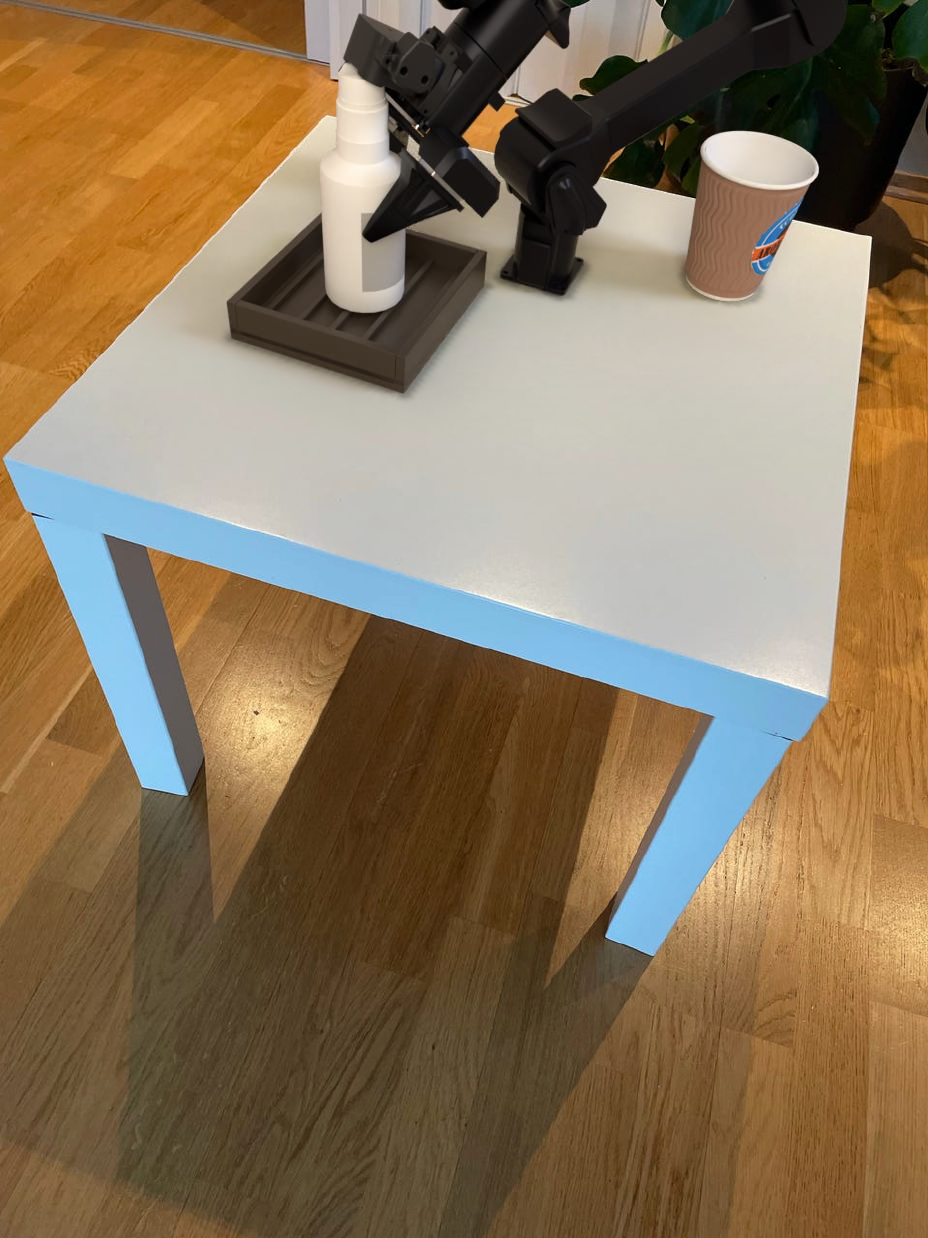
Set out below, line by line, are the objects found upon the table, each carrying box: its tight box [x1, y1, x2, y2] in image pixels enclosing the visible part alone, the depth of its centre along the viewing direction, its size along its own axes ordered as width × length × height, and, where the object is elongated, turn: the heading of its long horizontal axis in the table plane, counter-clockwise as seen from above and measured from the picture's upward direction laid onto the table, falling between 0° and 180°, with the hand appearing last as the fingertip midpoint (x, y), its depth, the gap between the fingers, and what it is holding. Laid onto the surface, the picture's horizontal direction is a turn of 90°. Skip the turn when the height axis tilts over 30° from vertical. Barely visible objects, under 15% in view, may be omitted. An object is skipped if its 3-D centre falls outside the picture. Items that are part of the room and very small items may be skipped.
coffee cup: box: [685, 130, 820, 302], centre depth 87 cm, size 10×10×12 cm
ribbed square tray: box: [226, 211, 488, 394], centre depth 82 cm, size 18×16×4 cm
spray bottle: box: [318, 62, 407, 313], centre depth 75 cm, size 7×7×18 cm
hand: (348, 217), depth 76 cm, fingers closed on spray bottle, 7 cm apart
